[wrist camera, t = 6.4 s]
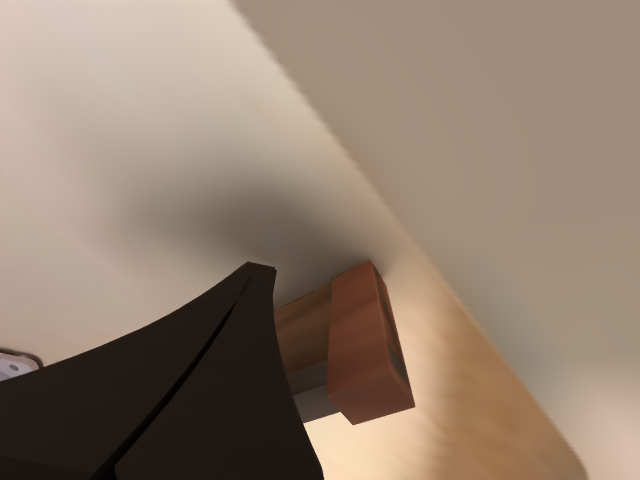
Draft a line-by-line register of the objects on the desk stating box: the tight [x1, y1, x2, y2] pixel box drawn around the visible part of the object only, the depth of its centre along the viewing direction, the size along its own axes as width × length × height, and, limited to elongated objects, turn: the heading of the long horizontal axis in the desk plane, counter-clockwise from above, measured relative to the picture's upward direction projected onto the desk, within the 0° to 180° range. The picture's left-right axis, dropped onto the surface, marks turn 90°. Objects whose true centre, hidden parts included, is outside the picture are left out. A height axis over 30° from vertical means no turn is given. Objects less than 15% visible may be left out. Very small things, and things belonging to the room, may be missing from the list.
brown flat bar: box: [273, 260, 415, 425], centre depth 12 cm, size 1×17×5 cm, turn 122°
